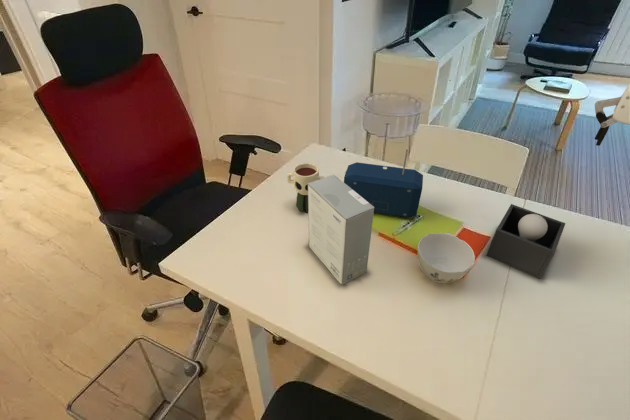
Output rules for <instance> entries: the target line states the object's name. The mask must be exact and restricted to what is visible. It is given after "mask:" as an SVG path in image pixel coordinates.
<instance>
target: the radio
mask: <svg viewBox="0 0 630 420" xmlns="http://www.w3.org/2000/svg"><path fill="white" fill-rule="evenodd" d="M408 152H409V149H405V155H404V160H403V167H396V166H388V165H381V164H373V163H365V162H354V163H351V164H348V165H347V168H346V171H345V173H344V177H343V182H344V183H345V184H346V185H347V186H349V187H350V188H351V189H352V190H354V191H355V192H356V193H358V194H359V195H360V196H361V197H362V198H364V199H365V200H366V201H367V202H369V203H370V204H371V205H372V206H373V207H375V208H374V214H375V215H380V216H381V215H383V216H389V217H394V218H395V217H396V218H402V219H411V218H414V217H417V215H418V210H419V205H420V201H421V197H422V192H423V183H424V175H423V174H422V172H420V171H418V170H416V169H413V168H406V163H407V158H408Z"/></svg>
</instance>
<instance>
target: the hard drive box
mask: <svg viewBox="0 0 630 420" xmlns="http://www.w3.org/2000/svg"><path fill="white" fill-rule="evenodd" d="M324 177H325V178H322V179H319V180H317V181H314V182H311V183H308V212H307V214H308V215H307V216H308V217H307V218H308V219H307V220H308V247H309V248H310V249H311V250H312V252H313V254H314V255H316V257H317V258H318V259H319V260H320V261H321V263H322V264H323V265H324V266H325V267H326V268H327V269H328V271H329V272H330V273H331V274H332V276H333V277H334V278H335V279H336V280H337V282H338V283H339V284H340V285H346V284H347V283H349V282H351V281H353V280H355V279H357V278H359V277H361V276H363V275H365V274H367V271H368V263H369V255H370V246H371V238H372V230H373V222H374V214H375V213H374V208H375V207H373V206H372V205H371V204H370V203H369V202H367V201H366V200H365V199H364V198H362V197H361V196H360V195H359V194H358V193H356V192H355V191H354V190H352V189H351V188H350V187H349V186H347V185H346V184H345V183H344V180H342V179H340V178H339V177H338V176H336V174H331V175H328V176H324Z"/></svg>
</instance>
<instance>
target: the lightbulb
mask: <svg viewBox="0 0 630 420" xmlns="http://www.w3.org/2000/svg"><path fill="white" fill-rule="evenodd" d="M518 229H519V233H520V236H519V237H521V238H524V239H526V240H529V241H531V242H534V241H535V240H537V239H539V238H541V237H543V236H544V235H545V234H546V232H547V229H548V225H547V222H546V220H545V219H544V218H543V217H541V216H540V215H537V214H528V215H526V216H524V217H522V218H521V220H520V221H519V223H518Z"/></svg>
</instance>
